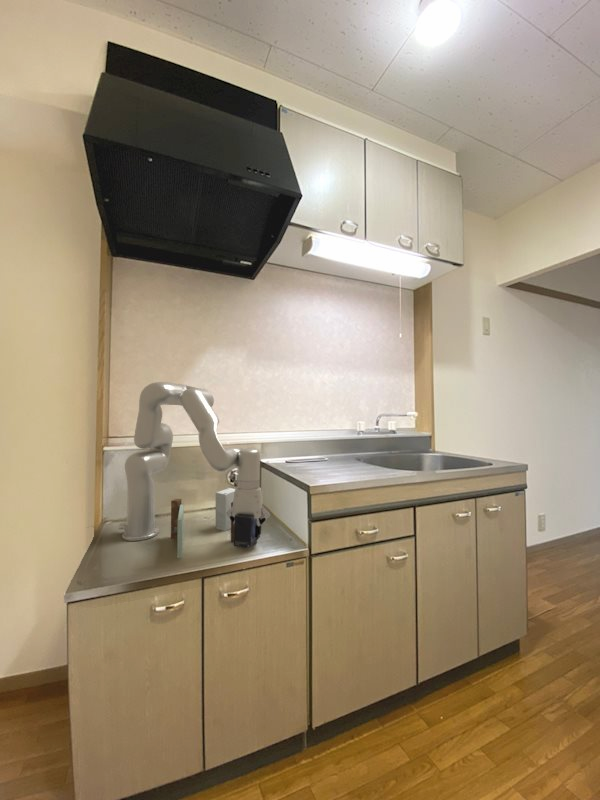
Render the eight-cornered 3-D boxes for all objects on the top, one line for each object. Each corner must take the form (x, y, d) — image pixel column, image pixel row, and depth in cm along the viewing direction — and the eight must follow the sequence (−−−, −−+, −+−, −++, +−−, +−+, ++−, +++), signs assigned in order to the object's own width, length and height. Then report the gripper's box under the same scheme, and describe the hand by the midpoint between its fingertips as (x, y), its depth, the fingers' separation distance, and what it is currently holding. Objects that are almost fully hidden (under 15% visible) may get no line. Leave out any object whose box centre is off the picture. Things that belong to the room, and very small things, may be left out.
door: (176, 536, 122) (176, 504, 122) (183, 535, 123) (183, 503, 123) (172, 558, 104) (172, 520, 104) (181, 557, 105) (181, 519, 105)
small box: (251, 549, 109) (251, 517, 109) (232, 547, 110) (233, 515, 111) (261, 536, 119) (261, 507, 120) (244, 535, 121) (244, 506, 121)
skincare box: (229, 522, 138) (229, 487, 139) (240, 525, 135) (240, 489, 136) (214, 528, 131) (214, 491, 132) (225, 531, 128) (225, 493, 129)
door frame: (170, 539, 121) (171, 500, 121) (174, 536, 124) (175, 498, 124) (236, 542, 118) (236, 503, 118) (238, 539, 121) (238, 500, 121)
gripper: (221, 485, 113) (219, 538, 112) (270, 488, 110) (269, 541, 110) (228, 480, 120) (227, 530, 120) (274, 483, 118) (274, 533, 117)
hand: (247, 535), depth 115 cm, fingers closed on small box, 6 cm apart
